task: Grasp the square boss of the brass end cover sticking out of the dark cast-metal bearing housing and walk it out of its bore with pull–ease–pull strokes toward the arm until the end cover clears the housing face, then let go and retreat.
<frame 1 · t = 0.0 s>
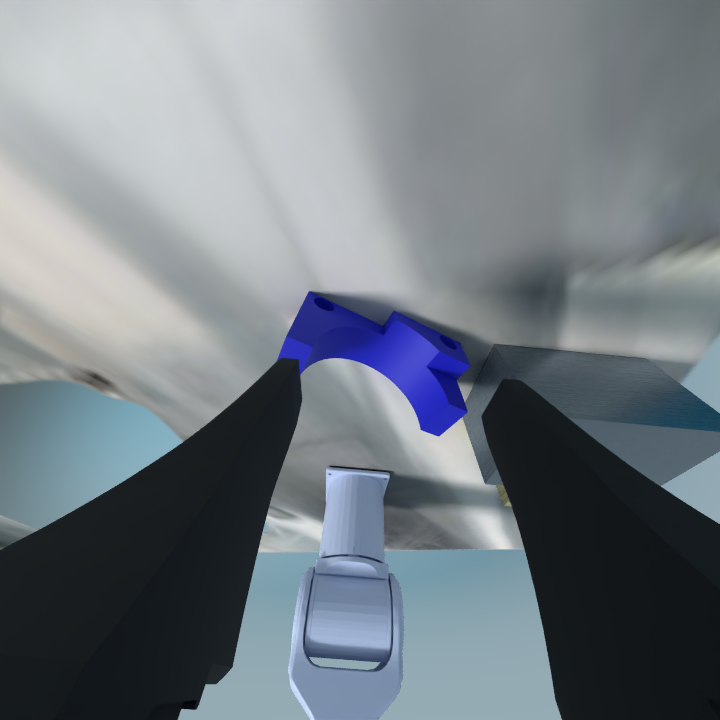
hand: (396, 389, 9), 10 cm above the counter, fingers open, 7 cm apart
cable clip: (378, 331, 20), on the counter
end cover: (538, 449, 22), point 3 cm above the counter, slide at 0.0 cm
housing: (543, 388, 22), on the counter
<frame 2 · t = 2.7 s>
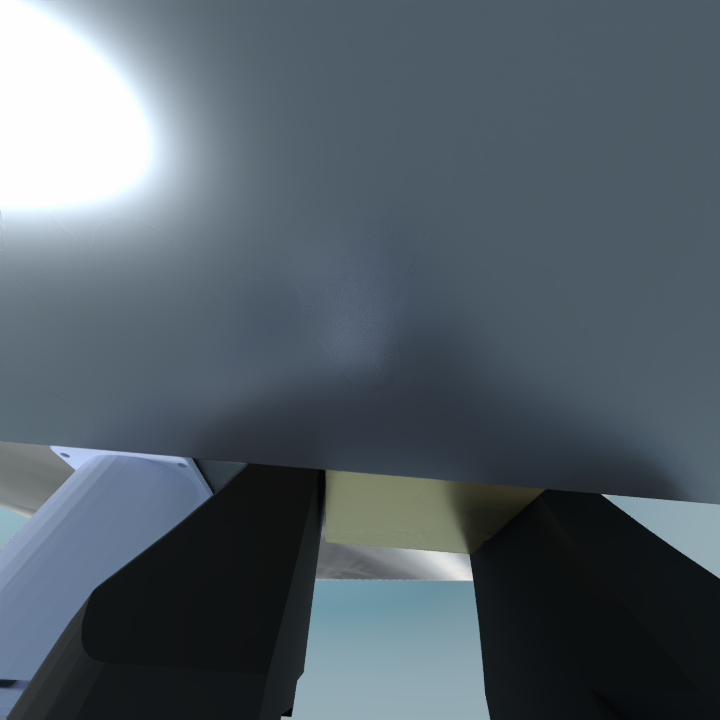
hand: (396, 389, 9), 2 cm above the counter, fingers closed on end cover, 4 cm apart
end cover: (432, 322, 6), point 3 cm above the counter, slide at 0.0 cm, touching gripper
housing: (453, 80, 6), on the counter
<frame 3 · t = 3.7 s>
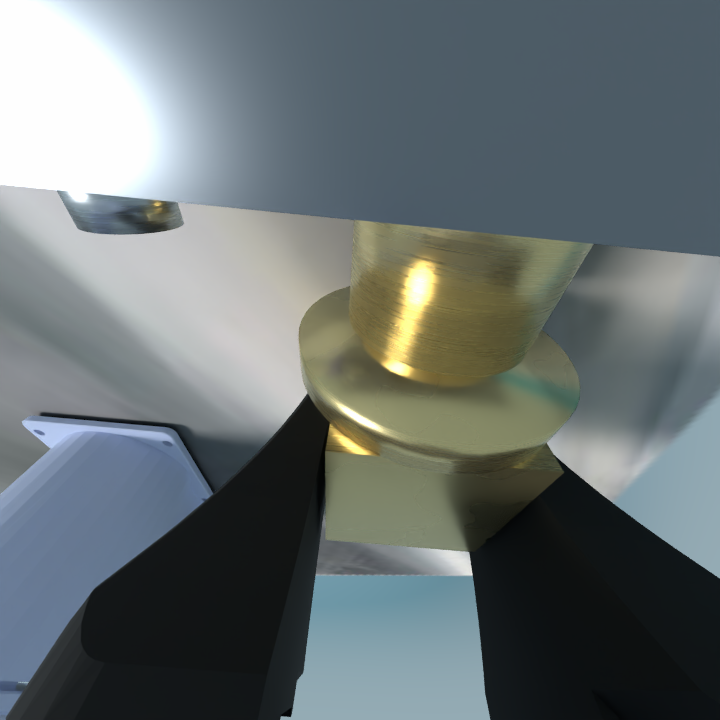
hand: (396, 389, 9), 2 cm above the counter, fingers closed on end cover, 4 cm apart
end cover: (433, 314, 5), point 3 cm above the counter, slide at 2.1 cm, touching gripper
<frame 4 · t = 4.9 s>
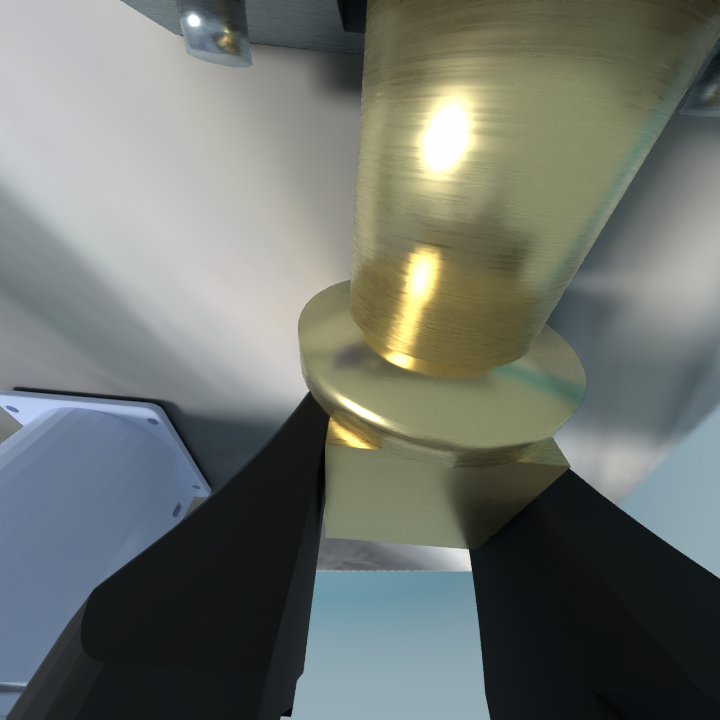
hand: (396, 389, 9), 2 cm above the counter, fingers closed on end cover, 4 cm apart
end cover: (435, 307, 5), point 3 cm above the counter, slide at 3.9 cm, touching gripper
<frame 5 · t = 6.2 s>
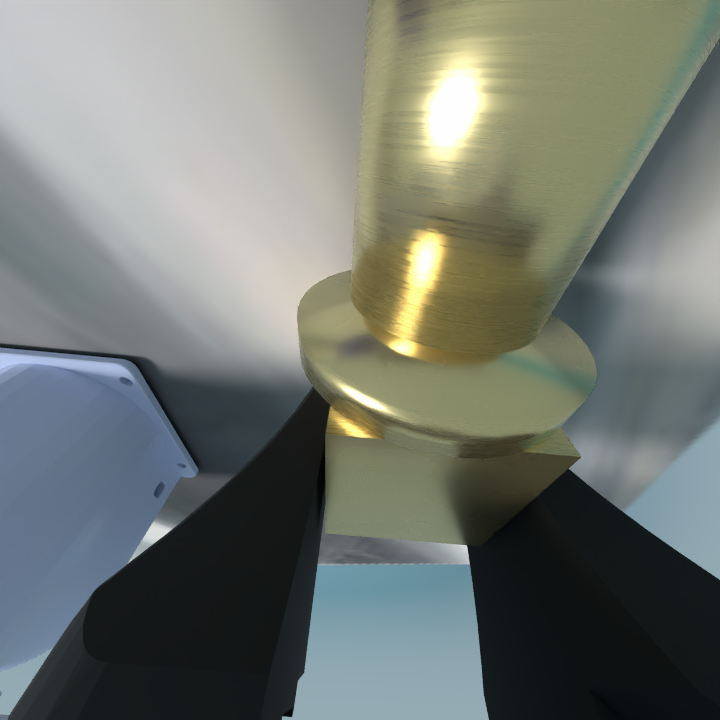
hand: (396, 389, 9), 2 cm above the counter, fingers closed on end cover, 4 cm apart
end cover: (439, 295, 5), point 3 cm above the counter, slide at 6.4 cm, touching gripper
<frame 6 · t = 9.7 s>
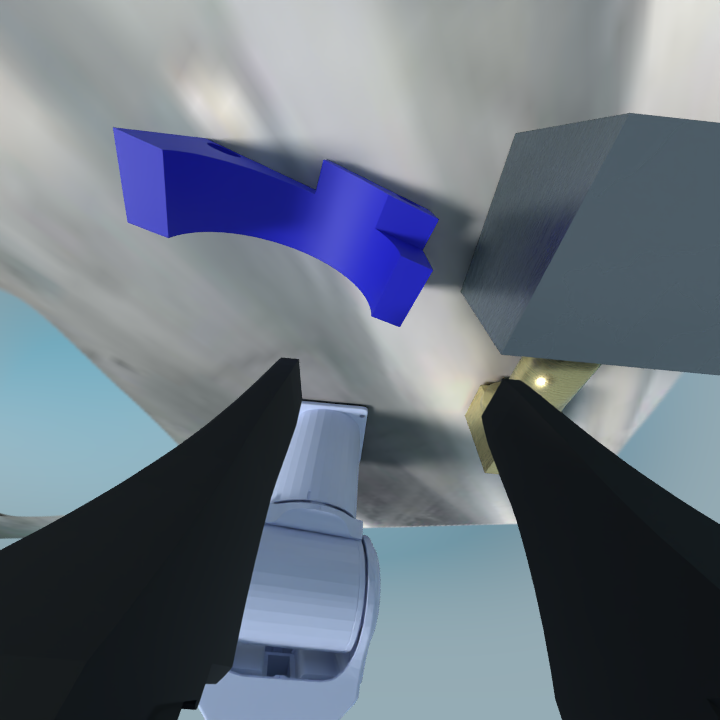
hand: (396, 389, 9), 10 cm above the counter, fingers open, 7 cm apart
cable clip: (317, 205, 15), on the counter
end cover: (525, 403, 19), point 3 cm above the counter, slide at 6.4 cm
housing: (586, 236, 15), on the counter
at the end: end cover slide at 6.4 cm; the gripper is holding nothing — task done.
